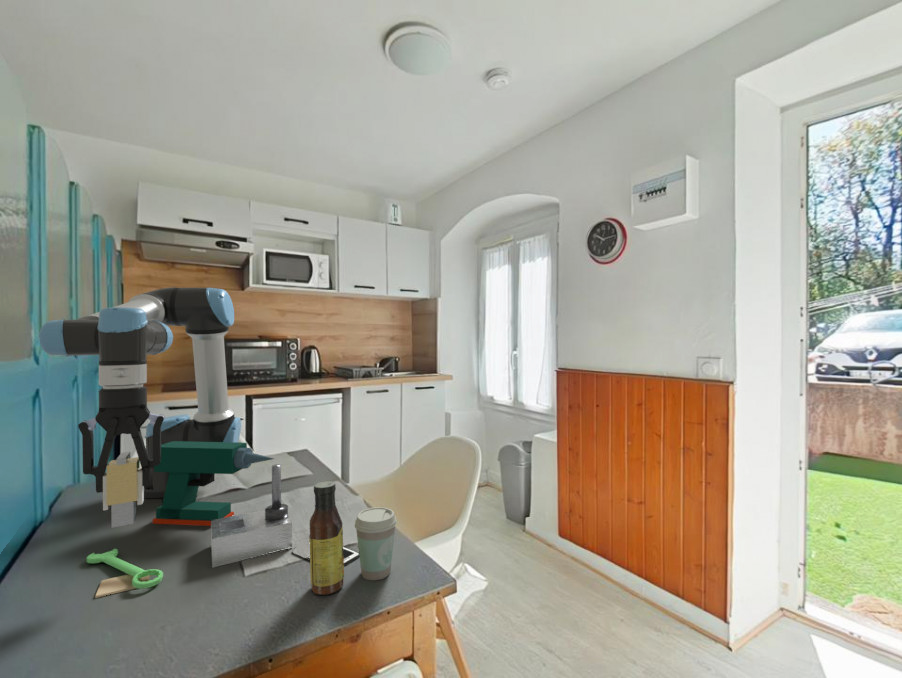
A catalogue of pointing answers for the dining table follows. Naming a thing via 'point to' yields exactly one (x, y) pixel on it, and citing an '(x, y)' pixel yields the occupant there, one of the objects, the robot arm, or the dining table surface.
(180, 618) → the dining table surface
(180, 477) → the power tool
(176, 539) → the dining table surface
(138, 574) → the wrench
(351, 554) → the cell phone
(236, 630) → the dining table surface
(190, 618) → the dining table surface
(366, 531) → the coffee cup
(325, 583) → the sauce bottle
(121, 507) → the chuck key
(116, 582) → the key mat
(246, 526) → the block
